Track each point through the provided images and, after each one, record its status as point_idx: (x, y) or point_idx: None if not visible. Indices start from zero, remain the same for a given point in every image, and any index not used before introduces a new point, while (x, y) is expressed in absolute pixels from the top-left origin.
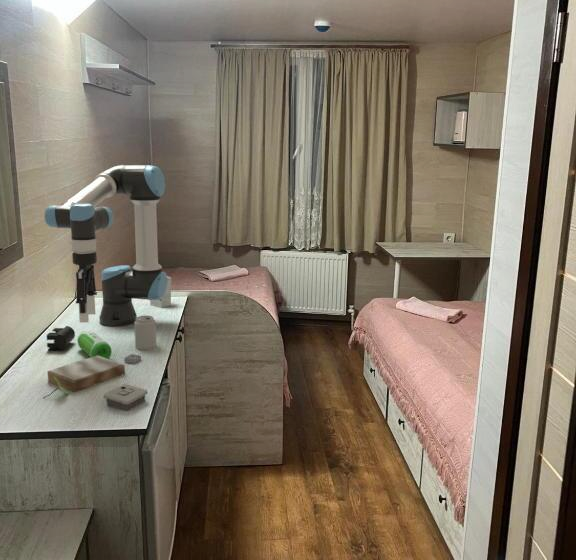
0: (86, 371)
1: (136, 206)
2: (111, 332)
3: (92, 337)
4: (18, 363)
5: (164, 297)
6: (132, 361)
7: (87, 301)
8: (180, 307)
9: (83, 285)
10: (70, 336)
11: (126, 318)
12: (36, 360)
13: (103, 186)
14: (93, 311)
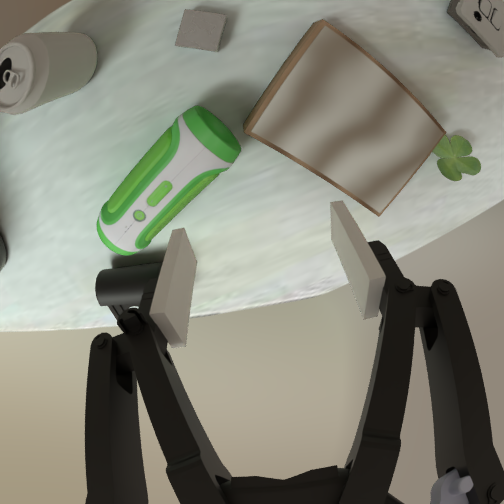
0: (391, 118)
1: None
2: (18, 219)
3: (166, 198)
4: (262, 300)
5: None
6: (224, 23)
7: (186, 311)
8: None
9: (483, 398)
10: (125, 274)
11: None
12: (238, 281)
13: None
14: (184, 243)
